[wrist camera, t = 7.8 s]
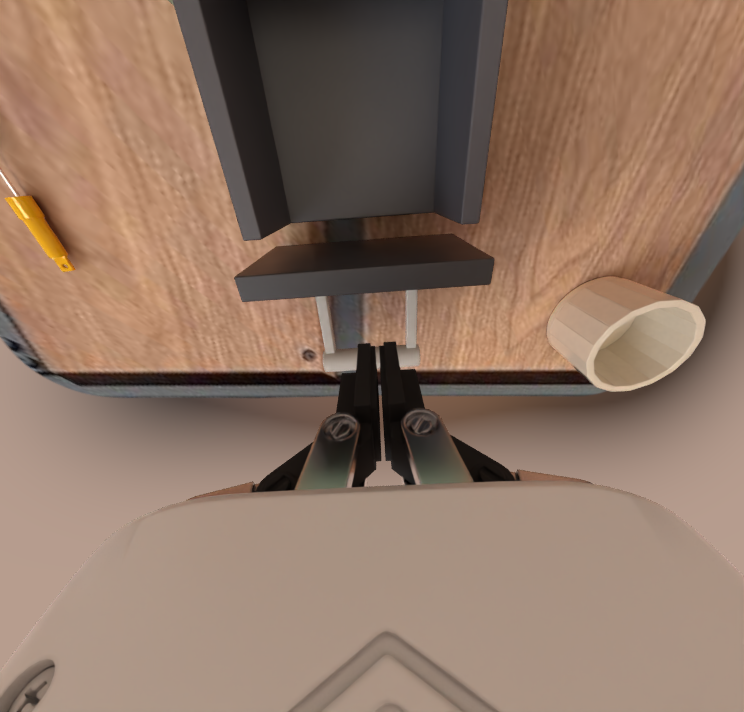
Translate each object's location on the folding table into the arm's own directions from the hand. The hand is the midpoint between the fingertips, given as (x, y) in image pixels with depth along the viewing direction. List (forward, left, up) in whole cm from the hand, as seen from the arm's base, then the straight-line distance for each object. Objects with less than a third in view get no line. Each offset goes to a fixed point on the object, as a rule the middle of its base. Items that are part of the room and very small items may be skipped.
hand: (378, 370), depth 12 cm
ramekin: (-18, +3, -10) cm, 21 cm away
